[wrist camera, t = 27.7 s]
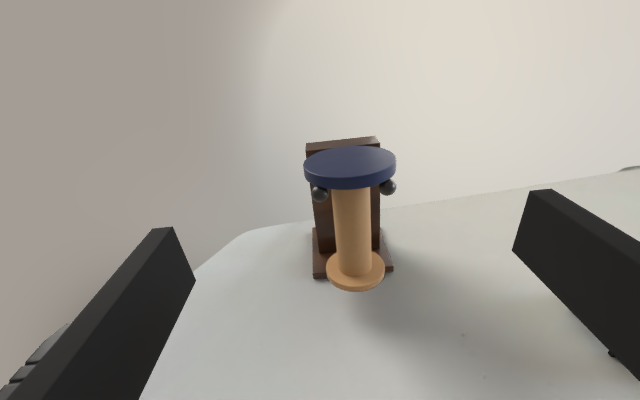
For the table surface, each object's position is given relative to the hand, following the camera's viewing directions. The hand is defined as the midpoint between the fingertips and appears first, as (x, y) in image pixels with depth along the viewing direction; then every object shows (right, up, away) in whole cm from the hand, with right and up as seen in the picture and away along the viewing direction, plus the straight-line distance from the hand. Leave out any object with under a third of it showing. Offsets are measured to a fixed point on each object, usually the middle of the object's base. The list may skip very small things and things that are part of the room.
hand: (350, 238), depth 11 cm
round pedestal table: (+3, -7, +23) cm, 24 cm away
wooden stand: (+3, -8, +30) cm, 31 cm away
